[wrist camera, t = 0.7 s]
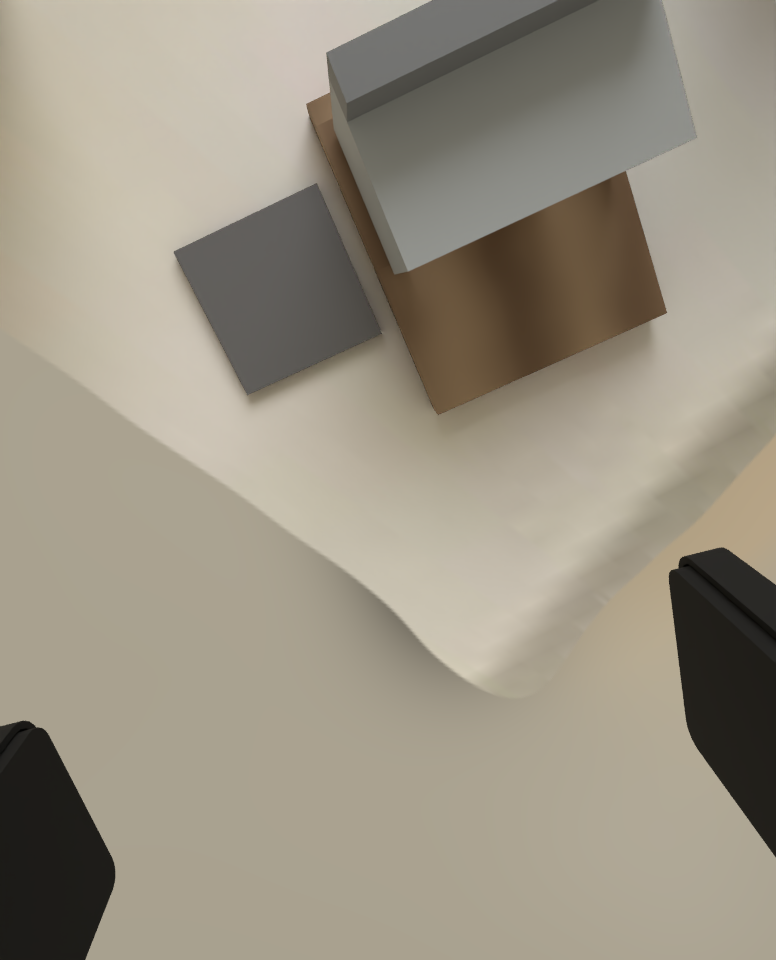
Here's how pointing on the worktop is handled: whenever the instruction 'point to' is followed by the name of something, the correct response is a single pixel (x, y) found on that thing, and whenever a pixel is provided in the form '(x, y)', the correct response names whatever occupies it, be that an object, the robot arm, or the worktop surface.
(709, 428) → the worktop surface
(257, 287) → the mat
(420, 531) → the worktop surface
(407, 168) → the cover
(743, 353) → the worktop surface
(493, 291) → the board
